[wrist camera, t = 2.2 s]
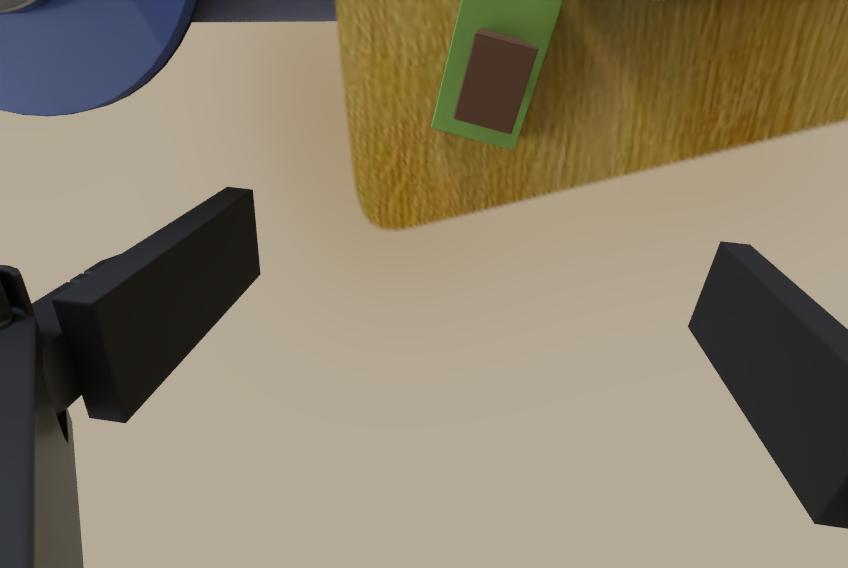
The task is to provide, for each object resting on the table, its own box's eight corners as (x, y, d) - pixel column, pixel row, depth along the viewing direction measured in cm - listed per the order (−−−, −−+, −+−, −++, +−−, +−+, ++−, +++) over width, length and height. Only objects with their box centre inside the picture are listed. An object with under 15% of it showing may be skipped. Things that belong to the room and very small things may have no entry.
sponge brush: (512, 140, 31) (523, 200, 21) (435, 119, 31) (407, 169, 21) (558, -3, 28) (599, -18, 17) (470, -27, 28) (458, -57, 17)
